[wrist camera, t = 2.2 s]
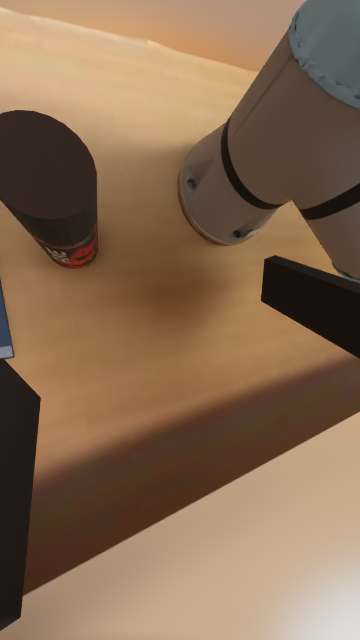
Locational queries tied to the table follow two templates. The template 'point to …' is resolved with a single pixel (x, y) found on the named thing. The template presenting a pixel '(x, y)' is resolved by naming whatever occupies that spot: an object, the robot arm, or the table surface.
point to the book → (4, 332)
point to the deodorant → (50, 185)
